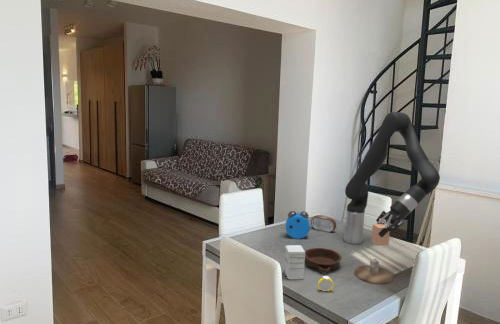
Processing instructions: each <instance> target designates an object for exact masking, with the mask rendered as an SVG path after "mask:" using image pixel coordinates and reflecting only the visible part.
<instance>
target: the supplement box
mask: <svg viewBox="0 0 500 324" xmlns="http://www.w3.org/2000/svg"><path fill="white" fill-rule="evenodd" d="M305 251H306V250H305V249H304V248H303V246H302V245H300V244H299V245H298V244H296V245H294V244H293V245H292V244H291V245H288V244H287V245H285V249H284V265H283V267H284V269H283V270H284V271H285V272H284V274H285V273H286V274H285V276H287V277H286V279H287V278H305V262H306V260H305Z"/></svg>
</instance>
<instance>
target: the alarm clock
mask: <svg viewBox="0 0 500 324" xmlns="http://www.w3.org/2000/svg"><path fill="white" fill-rule="evenodd" d="M309 217H310V216H309V213H308V212H307V211H304V210H303V211H301V212H299V211H297V212H296V211H294V210H290V211H289V212H288V213H287V218H286V220H285V230H286V233H287V234H288V236H289V237H291V238H292V239H296V240H299V239H303V238H305V237H307V235H308V234H309V233H310V230H311V223H310V221H309V219H308V218H309Z"/></svg>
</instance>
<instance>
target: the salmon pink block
mask: <svg viewBox="0 0 500 324" xmlns="http://www.w3.org/2000/svg"><path fill="white" fill-rule="evenodd" d="M385 226H386V225H385V224H377V223H375V224H374V223H372V228H371V243H373V244H374V245H376V246H377V247H379V246H381V247H382V246H389V243H390V232H391V231H390V232H387V233H386V234H385V235H384V236H383V237H381V236H380V235H379V232H380V231H381V230H382V229H383V228H385Z"/></svg>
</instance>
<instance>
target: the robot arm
mask: <svg viewBox="0 0 500 324" xmlns="http://www.w3.org/2000/svg"><path fill="white" fill-rule="evenodd" d="M395 132H396V133H399V134H400V135H401V136H402V139H404V143H405V151H406V155H407V157H408V159H409V161H410V163H411V165H412V166H413V168H414V169H415V170H416V171H417V172H418V174H419V175H420V179H419V181H418V182H417V183H416V184H415V185H412V186H410V187H409V188H408V189H407V190H406V191H405V192H404V193H403V194H402V195H401V196H399V198H397V200H395V201H394V203H393V204H391V206H390V207H389V209H390V210H389V211H387V212H386V211H385V210H382V212H381V213H380V214H379V216H378V217H377V218H376V219H375V221H376V224H385V225H386V226H385V228H383V229H382V230H381V231H380V232H379V235H380V236H381V237H383V236H384V235H385V234H386V233H387V232H391V233H394V232H395V231H396V230H397V229H399V228H400V227H402V226H403V225H404V223H403V221H402V220H405V219H406V218H407V217H408V216H409V215H410V214H411V213H412V212H413V211H414V210H415V209H416V207H417V206H418V205H419V204H420V203H421V202H422V201H423V200H424V198H425V197H426V196H428V195H429V194H430V193H431V192H433V191H434V190H435V189H436V188H437V186H439V182H440V178H441V176H440V174H439V171H438V170H437V169H436V167H435V166H434V164H433V163H432V162H431V161H430V159H429V157H428V156H427V154H426V153H425V151H424V149H423V147H422V145H421V144H420V141H419V139H418V136H417V134H416V130H415V129H414V126H413V123H412V121H411V118H410V117H409V115H408V114H407V113H404V112H399V111H392V112H391V111H390V112H388V113H387V114H386V115H385V117H384V119H383V120H382V123H381V125H380V127H379V130H378V132H377V134H376V136H375V138H374V140H373V141H372V143H371V145H370V146H369V149H368V150H367V152H366V154H365V155H364V157H363V159H362V160H361V163H360V164H359V166H358V168H357V169H356V171H355V173H354V174H353V175H352V177H351V178H350V179H349V181H348V182H347V184H346V186H345V189H344V193H345V196H346V198H347V199H349V200H351V201H349V203H348V204H347V205H346V217H345V218H346V219H345V223H344V230H343V231H344V232H343V242H346V243H348V244H351V245H361V244H362V243H363V237H364V224H365V213H366V212H365V211H366V208H367V205H368V198H369V186H368V184H367V181H368V180H369V179H370V178H371V177H372V176H373V175H374V174H376V172H378V171H379V169H380V168H382V165H383V164H384V162H385V160H386V159H387V156H388V149H389V148H388V147H389V141H390V140H391V139H392V137H393V135H394V134H395Z"/></svg>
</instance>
